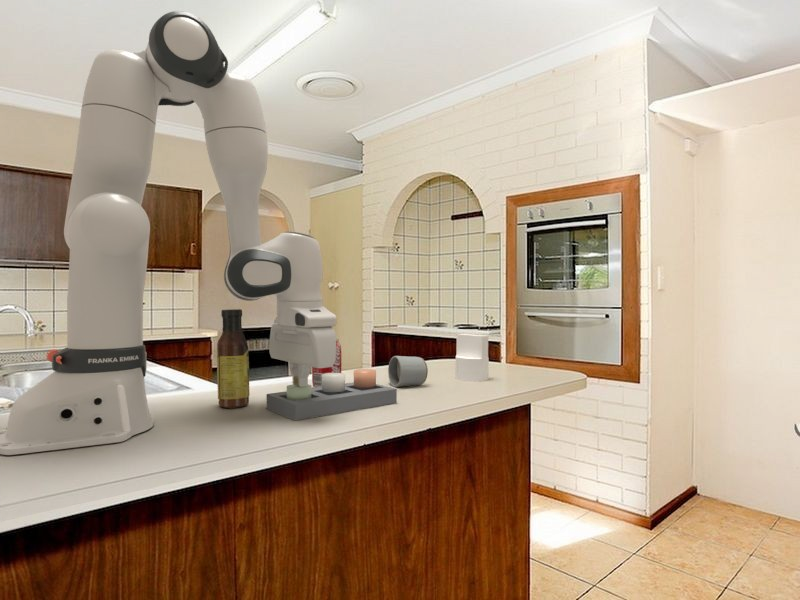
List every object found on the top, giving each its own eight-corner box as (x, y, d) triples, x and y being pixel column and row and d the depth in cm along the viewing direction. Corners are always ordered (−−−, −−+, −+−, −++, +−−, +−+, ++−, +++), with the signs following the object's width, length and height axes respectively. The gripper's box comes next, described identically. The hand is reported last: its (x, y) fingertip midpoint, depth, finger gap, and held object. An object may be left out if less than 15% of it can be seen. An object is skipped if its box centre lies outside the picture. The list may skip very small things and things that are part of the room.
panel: (295, 420, 94) (295, 404, 94) (266, 408, 103) (266, 393, 103) (396, 402, 110) (396, 388, 109) (363, 394, 119) (363, 381, 119)
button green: (294, 406, 98) (294, 389, 98) (282, 401, 101) (282, 385, 101) (315, 402, 101) (316, 386, 101) (303, 398, 105) (303, 383, 105)
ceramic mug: (429, 386, 128) (429, 356, 128) (400, 389, 125) (400, 357, 125) (409, 380, 138) (409, 352, 138) (381, 383, 134) (381, 353, 134)
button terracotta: (362, 388, 108) (362, 373, 108) (349, 385, 112) (349, 370, 112) (380, 385, 111) (380, 371, 111) (367, 382, 115) (367, 368, 115)
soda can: (344, 386, 128) (344, 338, 128) (337, 391, 121) (338, 341, 121) (316, 385, 129) (316, 337, 129) (308, 391, 122) (308, 340, 122)
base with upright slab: (494, 378, 141) (495, 335, 141) (475, 382, 135) (476, 337, 135) (468, 374, 148) (468, 333, 147) (448, 378, 141) (449, 334, 141)
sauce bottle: (255, 405, 106) (255, 309, 106) (227, 410, 101) (227, 310, 101) (238, 400, 111) (239, 308, 110) (211, 405, 106) (211, 309, 106)
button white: (329, 393, 103) (329, 377, 103) (317, 389, 107) (317, 374, 107) (349, 390, 106) (349, 374, 106) (336, 386, 110) (337, 371, 110)
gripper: (261, 314, 107) (261, 380, 107) (312, 318, 91) (312, 396, 92) (288, 313, 111) (289, 377, 111) (342, 317, 95) (342, 391, 96)
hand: (300, 385), depth 101 cm, fingers closed, pressing on button green
